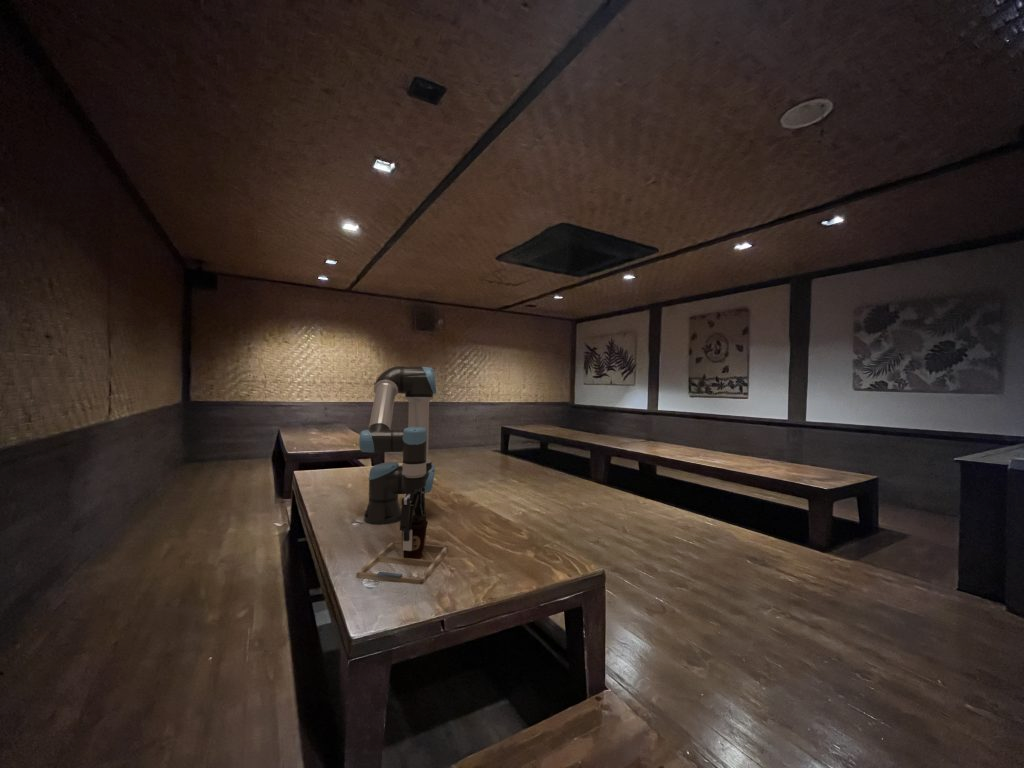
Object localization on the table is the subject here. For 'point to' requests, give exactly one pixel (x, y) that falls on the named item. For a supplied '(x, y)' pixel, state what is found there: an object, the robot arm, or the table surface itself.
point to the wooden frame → (407, 561)
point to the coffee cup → (417, 537)
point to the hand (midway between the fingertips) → (412, 544)
